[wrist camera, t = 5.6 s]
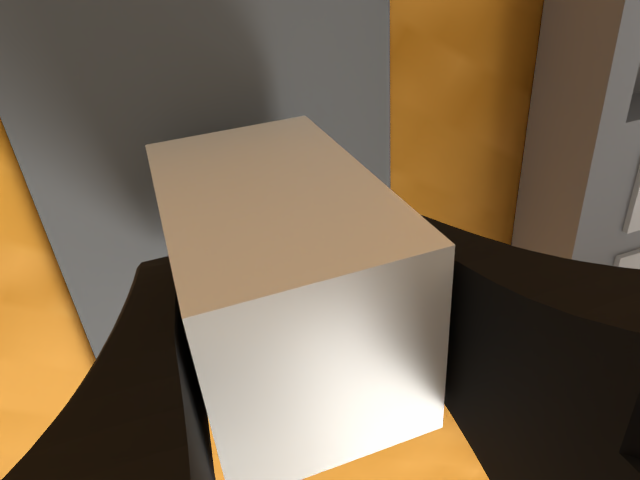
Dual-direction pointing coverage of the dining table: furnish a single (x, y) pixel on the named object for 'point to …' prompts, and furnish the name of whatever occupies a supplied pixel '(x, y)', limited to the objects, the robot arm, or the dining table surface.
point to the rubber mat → (170, 109)
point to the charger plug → (302, 298)
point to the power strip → (584, 136)
